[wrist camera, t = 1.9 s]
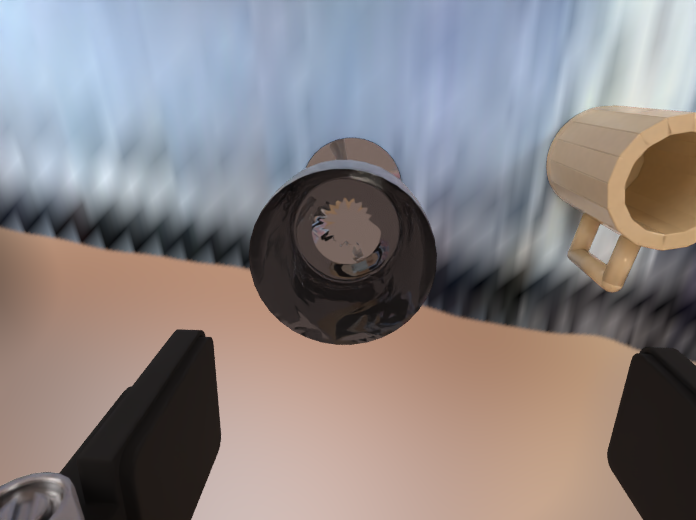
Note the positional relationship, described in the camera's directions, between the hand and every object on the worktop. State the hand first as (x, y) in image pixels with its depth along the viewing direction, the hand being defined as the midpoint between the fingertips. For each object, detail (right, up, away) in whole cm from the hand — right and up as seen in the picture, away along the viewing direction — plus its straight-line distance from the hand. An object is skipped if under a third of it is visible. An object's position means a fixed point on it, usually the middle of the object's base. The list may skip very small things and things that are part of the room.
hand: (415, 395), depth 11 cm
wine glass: (-1, +8, +24) cm, 25 cm away
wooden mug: (+15, +8, +23) cm, 29 cm away
